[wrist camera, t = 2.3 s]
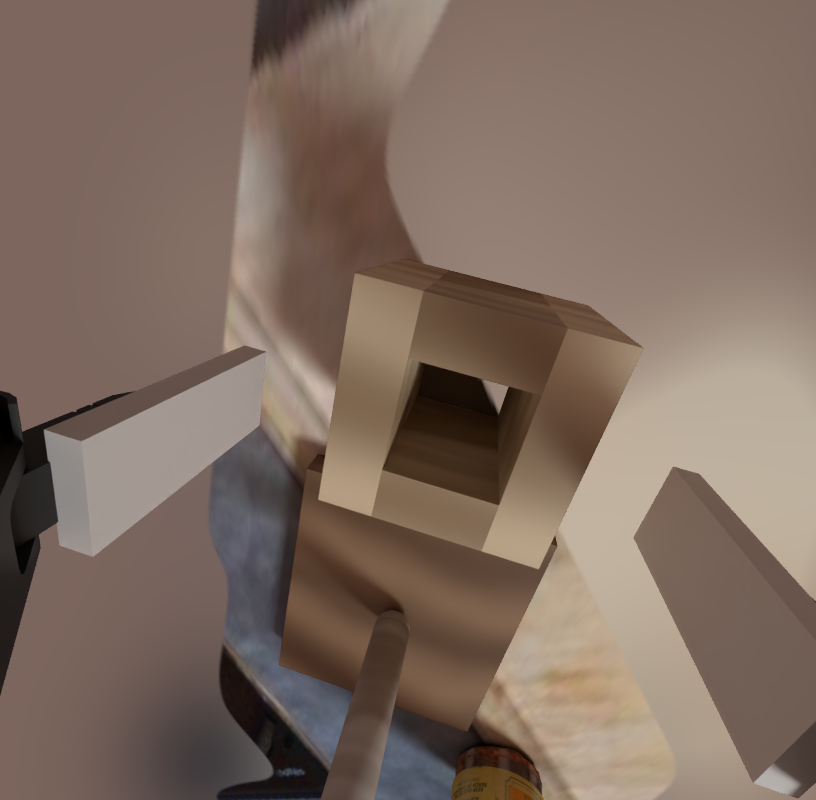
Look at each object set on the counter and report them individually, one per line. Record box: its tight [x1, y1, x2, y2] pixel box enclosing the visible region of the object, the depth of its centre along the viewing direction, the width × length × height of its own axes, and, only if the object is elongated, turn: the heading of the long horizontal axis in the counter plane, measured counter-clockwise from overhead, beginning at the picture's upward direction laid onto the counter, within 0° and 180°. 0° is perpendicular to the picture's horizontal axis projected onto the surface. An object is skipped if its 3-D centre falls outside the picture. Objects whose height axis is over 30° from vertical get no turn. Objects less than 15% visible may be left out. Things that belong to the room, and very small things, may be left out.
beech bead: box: [318, 259, 644, 569], centre depth 16 cm, size 8×8×7 cm
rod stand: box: [279, 455, 557, 800], centre depth 19 cm, size 16×13×14 cm
